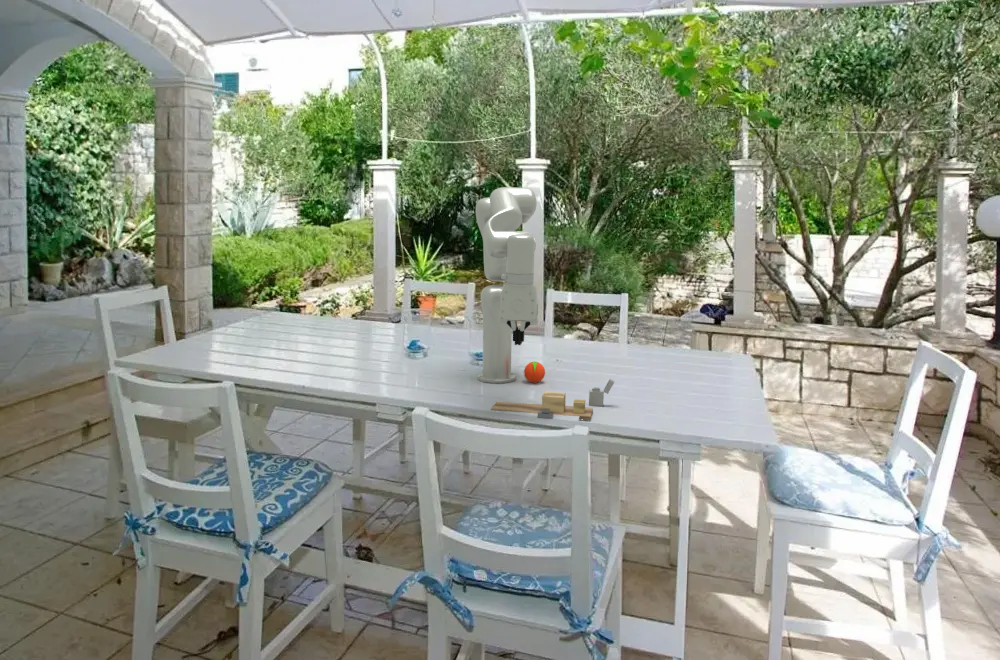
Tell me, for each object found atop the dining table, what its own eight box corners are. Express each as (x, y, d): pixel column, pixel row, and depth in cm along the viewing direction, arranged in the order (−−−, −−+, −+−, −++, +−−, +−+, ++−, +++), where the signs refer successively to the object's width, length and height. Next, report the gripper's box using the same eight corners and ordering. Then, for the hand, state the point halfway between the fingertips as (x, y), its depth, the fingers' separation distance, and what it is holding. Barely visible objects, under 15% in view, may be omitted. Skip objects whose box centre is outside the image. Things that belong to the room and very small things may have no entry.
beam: (497, 404, 219) (497, 390, 218) (592, 410, 214) (593, 396, 213) (489, 415, 207) (489, 401, 206) (590, 422, 202) (590, 407, 201)
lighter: (589, 405, 218) (590, 379, 217) (588, 404, 220) (589, 377, 219) (613, 406, 218) (614, 380, 216) (612, 404, 220) (614, 378, 218)
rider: (544, 406, 212) (544, 391, 211) (565, 408, 211) (565, 393, 210) (541, 411, 207) (542, 396, 206) (563, 413, 206) (563, 397, 205)
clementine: (545, 386, 240) (545, 364, 239) (523, 385, 240) (524, 364, 239) (544, 380, 248) (544, 359, 247) (523, 379, 248) (524, 358, 247)
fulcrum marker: (538, 419, 204) (539, 407, 203) (553, 420, 203) (553, 408, 203) (537, 421, 202) (537, 409, 201) (552, 422, 201) (552, 410, 200)
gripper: (490, 279, 203) (489, 345, 206) (545, 282, 200) (542, 348, 204) (495, 276, 210) (494, 339, 214) (548, 278, 207) (546, 342, 211)
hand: (518, 343), depth 209 cm, fingers closed
